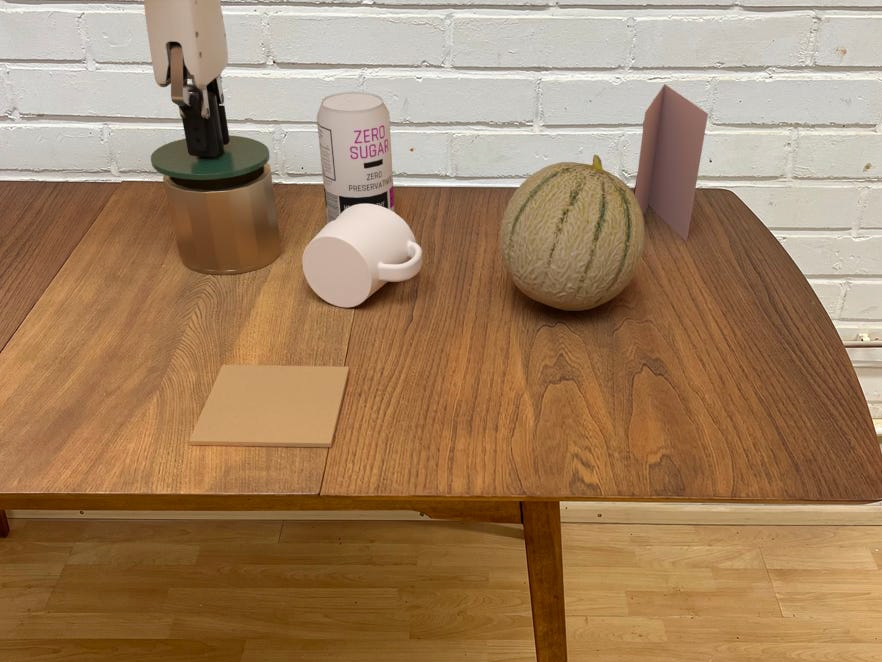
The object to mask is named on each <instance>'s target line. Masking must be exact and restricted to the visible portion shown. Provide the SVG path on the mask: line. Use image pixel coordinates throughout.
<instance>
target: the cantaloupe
mask: <svg viewBox="0 0 882 662" xmlns="http://www.w3.org/2000/svg"><path fill="white" fill-rule="evenodd" d="M602 163H603V162H602V160H601V158H600V156H599V155H598V154H593V157H592V164H589V163H581V162H574V161H561V162H556V163H553V164H549V165H547V166H545V167H542V168H541V169H540V170H537V171H535V172H534V173H532V174H531V175H529V176H528V177H527V178H526V179H525V180H524V181H523V182H522V183H521V184H520V185H519V187H518V188H517V189H516V190H515V192H514V193H513V195H512V196H511V198H510V199H509V201H508V204H507V206H506V207H505V210H504V213H503V216H502V219H501V224H500V229H499V246H500V247H499V248H500V250H499V251H500V256H501V260H502V262H503V266H504V268H505V269H506V271H507V273H508V276H510V278H511V280H512V281H513V283H514V285H515V287H517V288H518V289H519V291H521V292H522V294H524V295H526V296H527V297H528V298H529V299H532V300H533V301H536V302H538V303H540V304H543V305H545V306H549V307H552V308H554V309H558V310H562V311H569V312H570V311H572V312H573V311H574V312H575V311H576V312H578V311H579V312H580V311H586V310H592V309H594V308H596V307H598V306H601V305H604V304H606V303H607V302H609V301H611V300H613V299H614V298H615V297H617V296H619V294H621V292H622V291H623V290H624V289H625V288H626V287H627V286H628V285H629V284H630V282H631V280H632V279H633V278H634V276H635V275H636V272H637V270H638V268H639V266H640V263H641V260H642V257H643V253H644V247H645V238H646V228H645V218H644V215H643V213H642V210H641V207H640V204H639V202H638V200H637V198H636V197H635V195H634V191H633V190H632V189H631V188H630V187H629V186H628V185H627V183H626V182H625V181H623V180H622V179H621V178H620V177H618V176H617V175H615V174H612V173H611V172H609V171H607V170H604V167H603V164H602Z"/></svg>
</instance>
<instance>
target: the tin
mask: <svg viewBox="0 0 882 662" xmlns="http://www.w3.org/2000/svg"><path fill="white" fill-rule="evenodd" d="M162 181H163V186H164V190H165V194H166V198H167V199H166V200H167V204H168V209H169V213H170V218H171V223H172V228H173V232H174V235H175V236H174V237H175V241H176V246H177V249H178V254H179V255H178V256H179V257H180V259H181V262H182V263H183V265H185V266H186V267H187V268H189V270H192V271H195V272H198V273H200V274H201V273H202V274H206V275H217V276H227V275H228V276H229V275H238V274H244V273H249V272H252V271H256V270H260V269H262V268H265V267H266V266H269V265H270V264H272V263H273V262H275V261H276V260H277V259H278V258H279V256H280V255H281V252H282V240H281V233H280V226H279V218H278V211H277V205H276V204H277V203H276V200H275V199H276V197H275V191H274V183H273V176H272V169H271V165H270V164H269V163H268V162H267V163H266V164H265V165H264V166H262V167H261V168H259V169H257V170H255V171H253V172H250V173H247V174H243V175H240V176H235V177H230V178H223V179H213V180H190V179H181V178H175V177H170V176H167V175H164V174H163V177H162Z"/></svg>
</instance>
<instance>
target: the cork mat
mask: <svg viewBox="0 0 882 662" xmlns="http://www.w3.org/2000/svg"><path fill="white" fill-rule="evenodd" d="M349 375H350V366H339V365H338V366H337V365H336V366H335V365H333V366H332V365H331V366H329V365H327V366H326V365H280V364H279V365H275V364H274V365H273V364H272V365H270V364H222V365H221V367H220V369H219V372H218V374H217V377H216V379H215V381H214V383H213V385H212V388H211V390H210V392H209V394H208V397H207V398H206V401H205V403H204V405H203V408H202V410H201V413H200V415H199V417H198V419H197V422H196V424H195V426H194V428H193V430H192V432H191V435H190V437H189V439H188V442H189V443H188V444H189V446H214V447H215V446H216V447H217V446H219V447H220V446H221V447H222V446H226V447H274V448H275V447H276V448H277V447H279V448H280V447H281V448H332V447H333V443H334V438H335V434H336V430H337V425H338V420H339V418H340V412H341V408H342V404H343V400H344V395H345V393H346V392H345V391H346V387H347V383H348V380H349V379H348V378H349Z"/></svg>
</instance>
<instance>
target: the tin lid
mask: <svg viewBox="0 0 882 662" xmlns="http://www.w3.org/2000/svg"><path fill="white" fill-rule="evenodd" d="M189 93H190V94H191V95H195V96H196V97H197V99H198V100H199V95H198V93H195V92H189ZM207 96H208V103H209V111H210V116H213V117H214V121H215V128H216V134H217V140H218V146H219V154H218V156H217V157H205V156H191V155H190V154H189V153H188V149H187V143H186V138H180V139H177V140H173V141H171V142H168V143H165V144H164V145H161V146H160V147H158V148H156V149H155V150H154V151H153V152H152V153H151V155H150V162H151V166H152V168H153V169H154V170H155V171H156V172H157V173H160V174H162V175H163V176H164V175H167V176H170V177H175V178H181V179H190V180H213V179H223V178H230V177H235V176H240V175H243V174H247V173H250V172H253V171H255V170H257V169H259V168H261V167H262V166H264V165H265V164H266V163H268V162H269V160H270V158H271V157H270V150H269V147H268V146H267V145H266V144H264V143H263V142H261V141H259V140H257V139H254V138H249V137H245V136H239V135H230V134H229V139H230V141H229V143H228V144H227V145H223V138H222V132H221V125H220V119H219V113H218V106H217V100H216V95H215V94H214V93H212V92H207Z"/></svg>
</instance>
